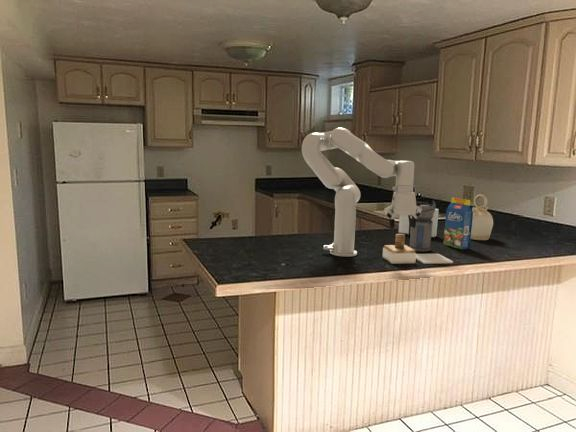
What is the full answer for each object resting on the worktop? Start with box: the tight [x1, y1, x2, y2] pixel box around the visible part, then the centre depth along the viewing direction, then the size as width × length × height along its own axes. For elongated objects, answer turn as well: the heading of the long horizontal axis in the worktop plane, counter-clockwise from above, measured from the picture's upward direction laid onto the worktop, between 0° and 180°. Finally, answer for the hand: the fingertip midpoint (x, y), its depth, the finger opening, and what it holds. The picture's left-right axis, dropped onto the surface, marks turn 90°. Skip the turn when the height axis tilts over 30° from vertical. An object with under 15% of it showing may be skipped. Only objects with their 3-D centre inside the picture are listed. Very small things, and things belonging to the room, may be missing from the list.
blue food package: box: [442, 197, 473, 250], centre depth 238 cm, size 6×12×25 cm, turn 28°
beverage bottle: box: [406, 200, 437, 253], centre depth 228 cm, size 10×13×25 cm
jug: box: [471, 194, 494, 241], centre depth 261 cm, size 15×16×25 cm
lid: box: [383, 233, 416, 253], centre depth 207 cm, size 10×10×7 cm
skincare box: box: [398, 208, 440, 238], centre depth 267 cm, size 21×6×16 cm, turn 58°
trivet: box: [416, 253, 454, 265], centre depth 212 cm, size 14×14×1 cm
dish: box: [382, 247, 417, 264], centre depth 208 cm, size 11×11×4 cm
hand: (402, 227), depth 206 cm, fingers open, 9 cm apart
